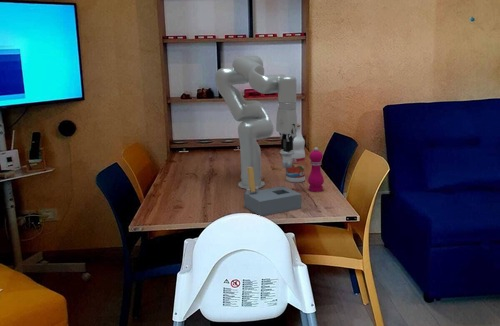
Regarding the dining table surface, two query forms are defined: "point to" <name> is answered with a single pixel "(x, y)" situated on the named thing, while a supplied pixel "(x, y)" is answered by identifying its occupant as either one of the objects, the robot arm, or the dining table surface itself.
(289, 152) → the pin
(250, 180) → the lever
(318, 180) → the pepper mill
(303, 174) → the fruit juice
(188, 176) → the dining table surface
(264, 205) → the block
